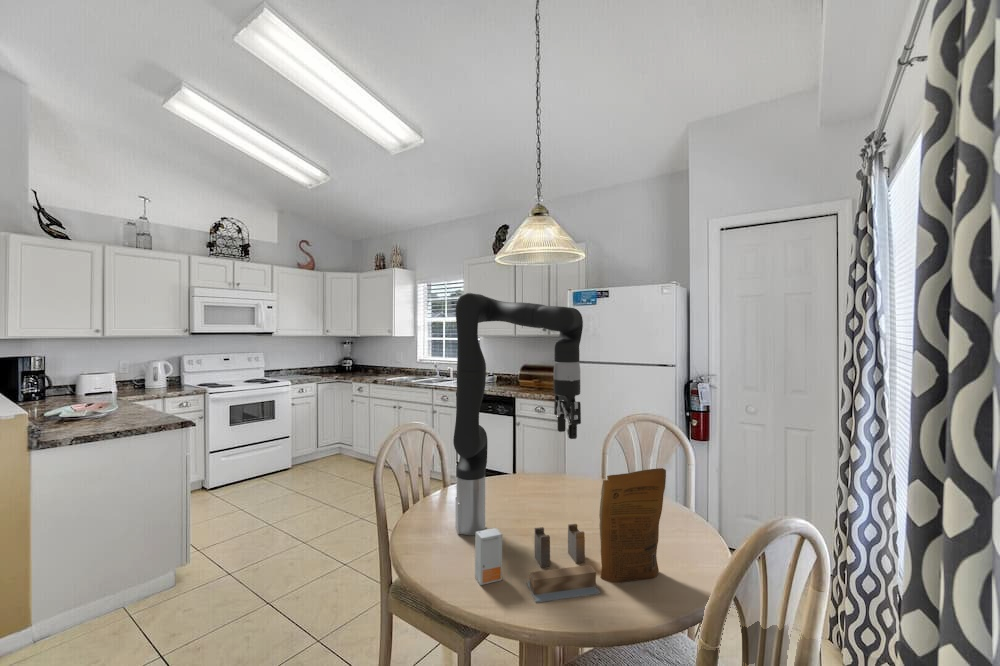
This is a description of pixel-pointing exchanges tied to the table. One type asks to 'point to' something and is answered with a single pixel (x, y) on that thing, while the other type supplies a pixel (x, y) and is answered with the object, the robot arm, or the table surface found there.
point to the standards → (574, 546)
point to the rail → (562, 579)
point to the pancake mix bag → (631, 524)
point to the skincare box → (488, 556)
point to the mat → (564, 594)
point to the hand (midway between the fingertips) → (566, 434)
